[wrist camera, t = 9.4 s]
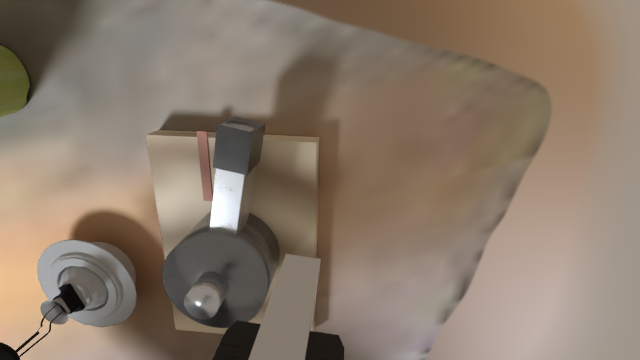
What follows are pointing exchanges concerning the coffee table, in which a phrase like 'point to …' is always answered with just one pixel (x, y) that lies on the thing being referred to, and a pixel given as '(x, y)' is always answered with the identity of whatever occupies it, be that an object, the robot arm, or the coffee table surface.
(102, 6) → the coffee table surface
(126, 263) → the grey joystick
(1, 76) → the plant pot
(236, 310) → the saucepan with lid
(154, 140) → the wooden cutting board
